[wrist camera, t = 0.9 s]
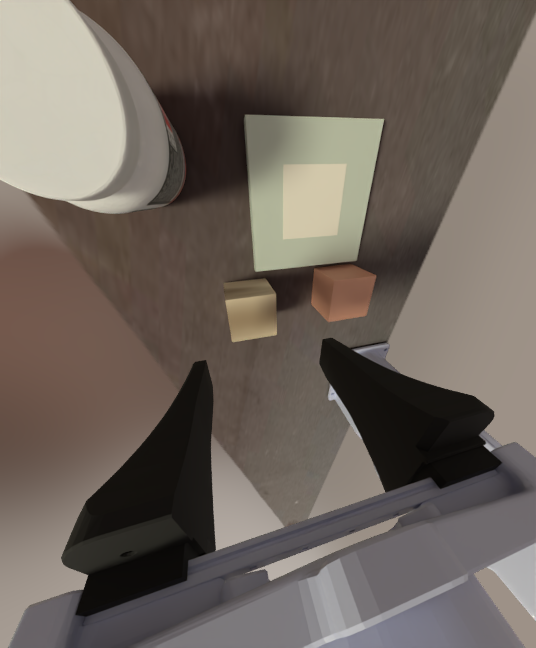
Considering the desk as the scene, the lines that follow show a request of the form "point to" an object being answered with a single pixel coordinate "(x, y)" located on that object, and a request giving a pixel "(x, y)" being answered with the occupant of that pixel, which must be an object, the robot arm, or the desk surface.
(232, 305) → the beech cube
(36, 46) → the pill bottle
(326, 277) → the terracotta cube
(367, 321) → the desk surface
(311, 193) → the board
